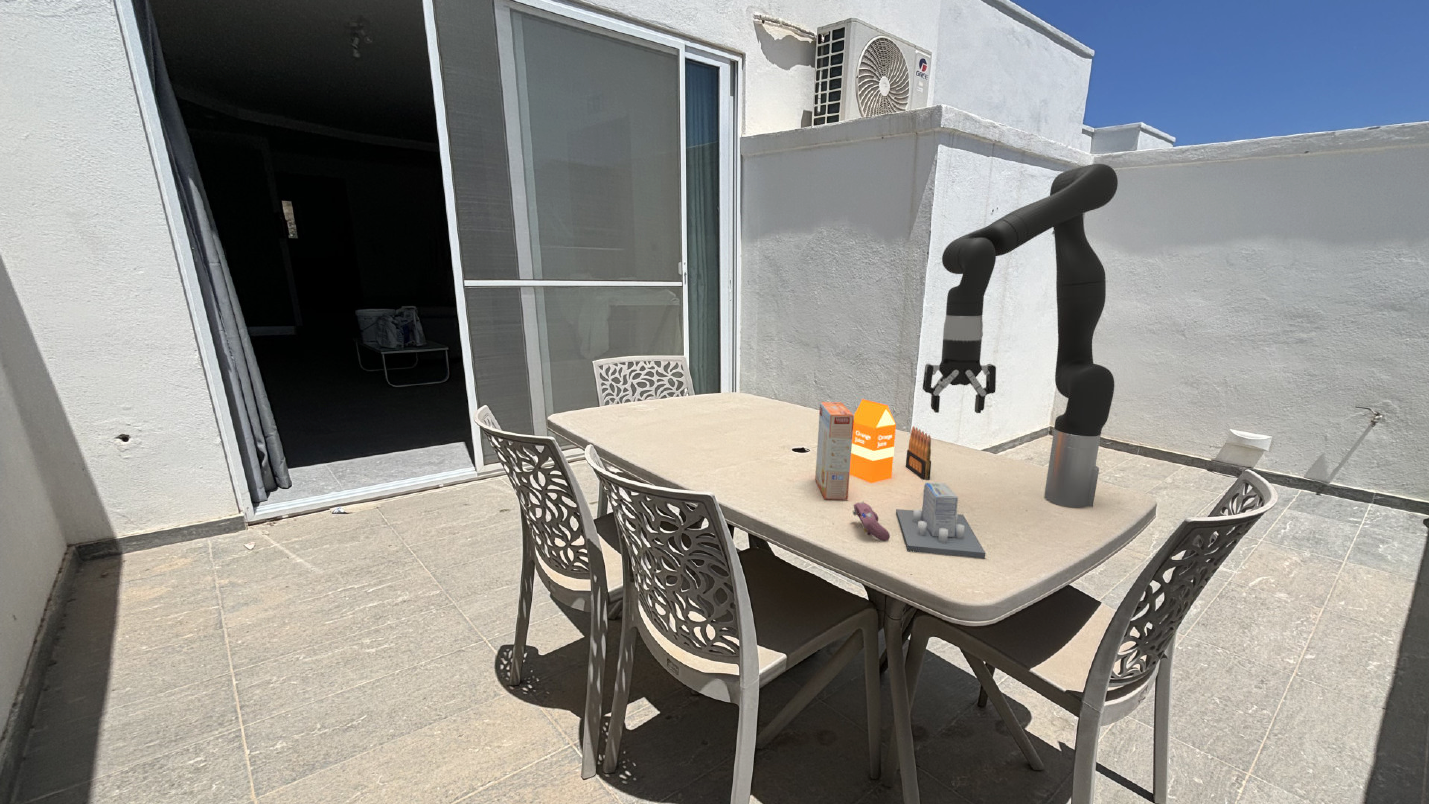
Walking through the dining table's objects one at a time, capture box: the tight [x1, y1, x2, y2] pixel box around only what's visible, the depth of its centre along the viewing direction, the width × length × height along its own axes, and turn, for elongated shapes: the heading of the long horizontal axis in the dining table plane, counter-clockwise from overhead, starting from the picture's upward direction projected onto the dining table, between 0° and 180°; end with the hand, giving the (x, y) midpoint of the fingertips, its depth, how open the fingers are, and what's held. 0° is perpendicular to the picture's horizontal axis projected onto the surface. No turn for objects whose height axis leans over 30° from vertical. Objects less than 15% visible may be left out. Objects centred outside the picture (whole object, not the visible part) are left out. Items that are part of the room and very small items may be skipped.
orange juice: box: [849, 398, 897, 484], centre depth 150 cm, size 8×9×20 cm
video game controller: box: [852, 501, 891, 542], centre depth 118 cm, size 10×5×7 cm, turn 179°
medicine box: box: [921, 482, 959, 537], centre depth 116 cm, size 8×4×9 cm, turn 176°
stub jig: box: [895, 508, 987, 560], centre depth 117 cm, size 14×18×4 cm
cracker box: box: [814, 401, 854, 501], centre depth 139 cm, size 14×6×21 cm, turn 179°
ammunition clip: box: [905, 425, 932, 481], centre depth 153 cm, size 11×2×12 cm, turn 7°
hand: (956, 412), depth 123 cm, fingers open, 8 cm apart
